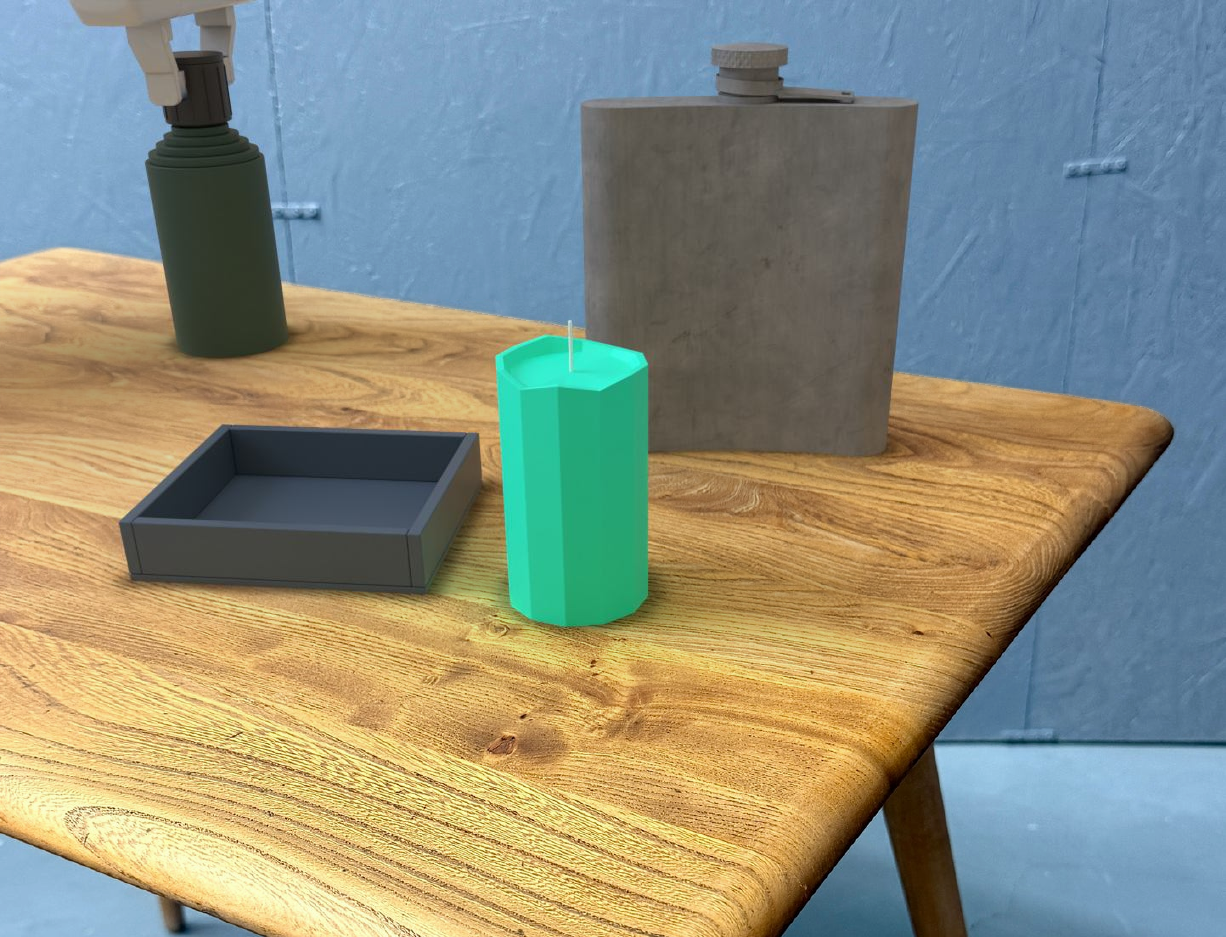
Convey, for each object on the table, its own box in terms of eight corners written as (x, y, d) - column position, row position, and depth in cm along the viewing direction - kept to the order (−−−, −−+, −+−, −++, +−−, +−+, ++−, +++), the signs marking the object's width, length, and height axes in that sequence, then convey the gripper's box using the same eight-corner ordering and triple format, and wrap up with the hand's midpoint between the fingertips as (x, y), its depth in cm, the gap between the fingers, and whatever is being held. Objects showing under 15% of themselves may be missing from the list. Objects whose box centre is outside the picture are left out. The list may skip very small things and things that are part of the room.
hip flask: (585, 458, 69) (576, 49, 60) (591, 430, 73) (583, 40, 63) (889, 461, 68) (929, 46, 59) (880, 433, 72) (916, 38, 62)
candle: (489, 580, 57) (471, 309, 51) (617, 556, 59) (613, 292, 53) (534, 644, 52) (519, 353, 47) (671, 615, 54) (673, 332, 48)
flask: (160, 360, 85) (106, 70, 76) (203, 328, 91) (158, 56, 83) (267, 363, 84) (224, 70, 76) (303, 330, 90) (268, 56, 82)
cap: (154, 125, 79) (143, 57, 77) (181, 115, 83) (170, 50, 81) (217, 126, 79) (207, 57, 77) (241, 116, 82) (232, 50, 80)
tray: (131, 586, 57) (117, 521, 56) (231, 480, 67) (221, 423, 66) (426, 600, 56) (420, 534, 54) (483, 490, 66) (479, 432, 64)
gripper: (175, -162, 83) (211, 73, 89) (6, -175, 65) (66, 120, 72) (272, -164, 82) (300, 74, 89) (128, -177, 64) (177, 121, 71)
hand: (195, 95), depth 80 cm, fingers open, 6 cm apart
